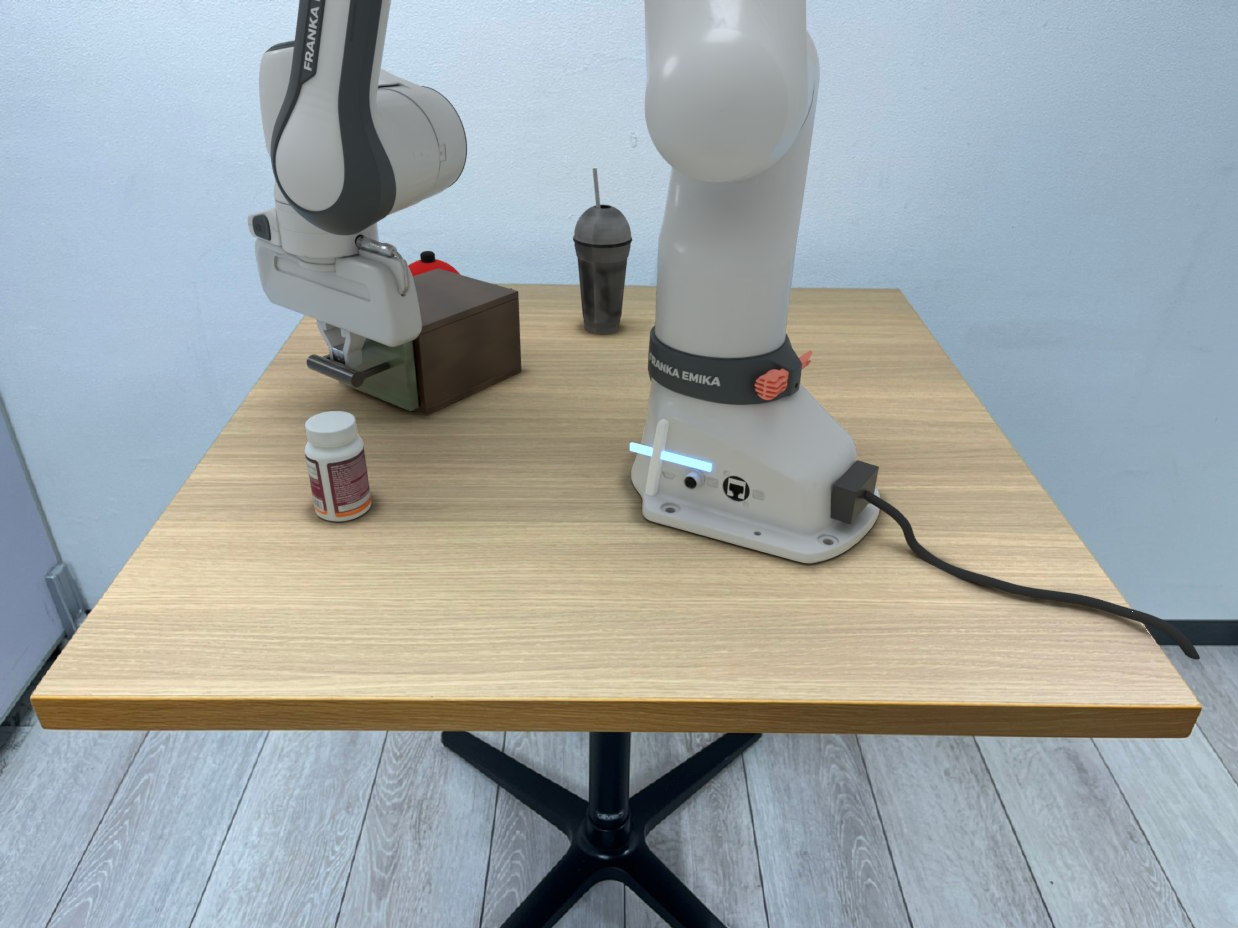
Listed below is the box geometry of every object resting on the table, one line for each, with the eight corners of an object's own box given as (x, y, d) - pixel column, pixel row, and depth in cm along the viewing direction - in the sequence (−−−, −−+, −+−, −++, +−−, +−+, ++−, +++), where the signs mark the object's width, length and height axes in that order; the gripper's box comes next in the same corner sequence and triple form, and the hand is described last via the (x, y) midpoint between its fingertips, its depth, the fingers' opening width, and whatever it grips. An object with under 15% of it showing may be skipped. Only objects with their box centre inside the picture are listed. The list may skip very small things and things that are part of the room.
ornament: (456, 313, 121) (450, 238, 116) (480, 336, 114) (475, 257, 109) (389, 323, 117) (380, 246, 112) (409, 347, 110) (401, 266, 105)
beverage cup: (641, 331, 116) (646, 169, 106) (593, 342, 112) (594, 176, 103) (609, 314, 121) (611, 159, 111) (562, 324, 118) (560, 165, 108)
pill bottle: (379, 495, 80) (368, 410, 76) (360, 525, 76) (348, 436, 72) (327, 491, 81) (313, 406, 77) (305, 520, 77) (290, 432, 72)
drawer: (371, 428, 89) (362, 355, 86) (299, 397, 95) (287, 327, 91) (501, 370, 102) (498, 303, 99) (431, 345, 108) (425, 282, 104)
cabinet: (426, 415, 94) (418, 328, 89) (347, 383, 101) (336, 300, 96) (521, 371, 104) (518, 290, 100) (444, 345, 111) (438, 268, 106)
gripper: (431, 240, 82) (442, 381, 89) (291, 202, 93) (310, 331, 99) (375, 256, 78) (391, 402, 84) (235, 214, 88) (260, 347, 95)
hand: (347, 363), depth 92 cm, fingers closed
